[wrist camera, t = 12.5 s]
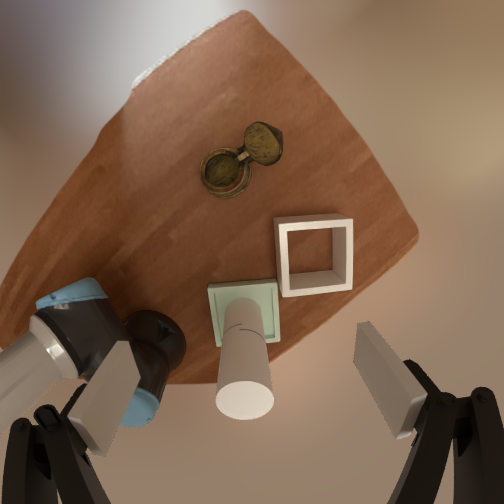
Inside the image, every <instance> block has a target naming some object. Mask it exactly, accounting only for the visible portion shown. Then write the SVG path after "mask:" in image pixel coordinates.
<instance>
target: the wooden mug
mask: <svg viewBox="0 0 504 504" xmlns="http://www.w3.org/2000/svg"><path fill="white" fill-rule="evenodd" d="M282 152H283V134H282V131H280V130H278V129H277V128H275V127H273V126H270V125H268V124H266V123H263V122H258V121H257V122H255V123H253V124H251V125H250V126H249V127H248V128H247V129H246V131H245V133H244V145H243V146H242V147H241V148H239V149H237V150H236V149H232V148H226V147H223V148H217V149H215V150H213V151H212V152H210V153H209V154H208V155H207V156H206V157H205V158H204V159H203V161H202V163H201V167H200V179H201V181H202V183H203V185H204V186H205V187H206V189H207V190H208V191H209V192H210V193H211V194H213V195H214V196H216V197H219V198H224V199H226V198H232V197H235V196H237V195H238V194H240V193H241V192H243V191H244V190H245V189H246V187H247V186H248V184H249V182H250V179H251V176H252V175H251V164H250V162H252V161H253V160H254V161H256V162H258V163H259V164H262V165H265V166H268V165H272V164H275V163H276V162H277V161H279V160H280V158H281V156H282Z"/></svg>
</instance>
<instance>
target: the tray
mask: <svg viewBox="0 0 504 504" xmlns="http://www.w3.org/2000/svg"><path fill="white" fill-rule="evenodd" d="M207 289H208V296H209V302H210V309H211V315H212V322H213V328H214V334H215V340H216V346H217V347H220V346H222V337H223V328H224V320H225V312H226V308H227V306H228V304H229V303H230V302H231V301H233V300H234V299H237V298H240V297H246V298H250V299H252V300H254V301H256V302H257V303H258V305H259V306H260V308H261V313H262V320H263V327H264V333H265V340H266V343H271V342H280V326H279V306H278V288H277V280H276V278H271V279H260V280H249V281H237V282H225V283H212V284H209V285H208V288H207Z"/></svg>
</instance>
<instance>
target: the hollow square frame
mask: <svg viewBox="0 0 504 504" xmlns="http://www.w3.org/2000/svg"><path fill="white" fill-rule="evenodd" d="M273 220H274V234H275V249H276V265H277V281H278V284H279V287H280V290H281V293H282V296H283V297H292V296H301V295H310V294H319V293H327V292H335V291H343V290H351V289H352V277H353V219H352V218H349V217H346V216H344V215H341V214H338V213H332V214H317V215H302V216H288V217H276V218H273ZM319 228H332V248H333V270H326V271H317V272H307V273H297V274H289V264H288V245H287V231H293V230H306V229H319Z"/></svg>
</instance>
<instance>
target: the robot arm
mask: <svg viewBox="0 0 504 504" xmlns="http://www.w3.org/2000/svg"><path fill="white" fill-rule="evenodd" d="M36 308H37V310H39V311H38V312H36V313H35V314H34V315H32V316H31V317H30V324H29V330H28V332H26V333H25V334H24V335H22V336H21V337H20V338H18V339H17V340H16V341H15V342H13V343H12V344H11V345H10V346H8V347H7V348H6V349H5V350H3V351H2V352H1V353H0V437H1V436H2V435H3V434H4V433H5V432H6V431H7V430H8V429H9V428H10V427H11V429H10V434H9V440H8V445H7V451H6V458H5V466H4V474H3V486H2V504H58V496H57V490H58V492H59V495H60V498H61V501H62V504H111V503H110V501H109V499H108V497H107V495H106V493H105V491H104V490H103V488H102V486H101V484H100V481H99V479H98V478H97V475H96V473H95V471H94V469H93V467H92V465H91V462H90V460H89V457H88V455H87V454H86V452H85V451H86V449H87V447H88V448H89V449H90V451H91V452H92V453H93V454H95V455H99V456H103V457H106V456H107V453H108V451H109V448H110V446H111V444H112V441H113V439H114V437H115V434H116V432H117V429H118V427H119V425H121V426H126V427H141V426H144V425H146V424H148V423H150V422H151V421H152V419H153V418H154V416H155V413H156V411H157V410H158V408H159V405H160V401H161V398H162V395H163V391H164V388H165V385H166V382H167V379H168V376H169V374H170V373H171V372H172V371H173V370H174V369H175V368H177V367H178V366H179V365H180V363H181V362H182V360H183V357H184V354H185V351H186V341H185V337H184V335H183V333H182V331H181V329H180V328H179V327H178V325H177V324H176V323H175V322H174V321H172V320H171V319H170V318H168V317H167V316H165V315H163V314H161V313H158V312H154V311H139V312H136V313H134V314H132V315H130V316H129V317H128V318H127V319H126V320H125V322H124V323H123V322H122V321H121V319H120V317H119V316H118V314H117V313H116V311H115V309H114V308H113V306H112V304H111V302H110V301H109V297H108V296H107V295H106V294H105V293H104V291H103V290H102V288H101V286H100V285H99V283H98V282H97V280H95V279H94V278H91V277H87V278H84V279H81V280H79V281H76V282H74V283H72V284H70V285H67V286H65V287H63V288H61V289H59V290H57V291H55V292H53V293H51V294H49V295H46V296H44V297H42V298H40V299H39V300H37V301H36ZM353 362H354V364H355V366H356V368H357V369H358V371H359V373H360V375H361V376H362V378H363V380H364V382H365V383H366V385H367V387H368V389H369V391H370V392H371V394H372V396H373V398H374V400H375V401H376V403H377V405H378V407H379V409H380V411H381V413H382V414H383V416H384V418H385V420H386V422H387V424H388V426H389V427H390V429H391V431H392V433H393V435H394V437H395V439H396V440H398V439H401V438H403V437H406V436H409V435H411V433H412V430H413V428H415V429H416V431H417V435H416V437H415V439H414V441H413V443H412V445H411V446H412V448H411V451H410V453H409V456H408V459H407V461H406V464H405V466H404V468H403V471H402V473H401V475H400V478H399V480H398V482H397V484H396V487H395V489H394V491H393V493H392V495H391V497H390V499H389V501H388V503H387V504H433V503H434V501H435V498H436V495H437V492H438V489H439V486H440V483H441V479H442V476H443V473H444V470H445V466H446V462H447V458H448V454H449V450H450V446H451V441H452V439H453V451H454V500H453V504H504V428H503V424H502V420H501V416H500V413H499V409H498V406H497V402H496V399H495V395H494V394H493V392H492V391H491V390H490V389H488V388H486V387H478V388H476V389H474V390H473V392H472V393H471V396H469V397H463V398H456V397H455V396H454V395H452V394H450V393H447V392H441V391H440V390H439V389H438V387H437V386H436V385H435V384H434V383H433V381H432V380H431V379H430V378H429V377H428V376H427V374H426V373H425V372H424V371H423V370H422V368H421V367H420V366H419V365H418V364H417V363H415V362H413V361H412V360H410V359H409V360H405V361H401V359H400V358H399V357H398V355H397V354H396V353H395V352H394V350H393V349H392V348H391V347H390V345H389V344H388V343H387V342H386V341H385V339H384V338H383V337H382V336H381V335H380V333H379V332H378V331H377V330H376V329H375V327H374V326H373V325H372V324H371V322H369V321H368V322H362V323H357V333H356V343H355V352H354V360H353ZM80 375H82V376H83V377H84V379H85V380H86V381H87V383H88V384H86V383H84V384H82V385H81V386H80V387H78V388H77V389H76V391H75V392H74V394H73V396H72V397H71V398H70V401H68V403H67V404H66V406H65V407H64V409H63V410H62V412H61V413H60V415H59V413H58V411H57V410H56V408H55V407H54V406H53V405H49V404H47V405H43V406H40V407H39V408H38V409H36V411H35V412H34V418H35V420H36V421H37V423H38V424H39V425H32V424H31V422H30V421H29V419H27V418H20V417H22V415H24V414H25V413H26V412H27V411H28V410H29V409H30V408H31V407H32V406H33V405H34V404H35V403H36V402H37V401H38V400H39V399H40V398H41V397H42V396H44V394H46V393H47V392H48V391H49V390H50V389H51V388H52V387H53V386H54V385H55V384H56V383H58V382H59V381H60V380H61V379H62V378H69V379H77V378H78V377H79V376H80Z"/></svg>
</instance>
